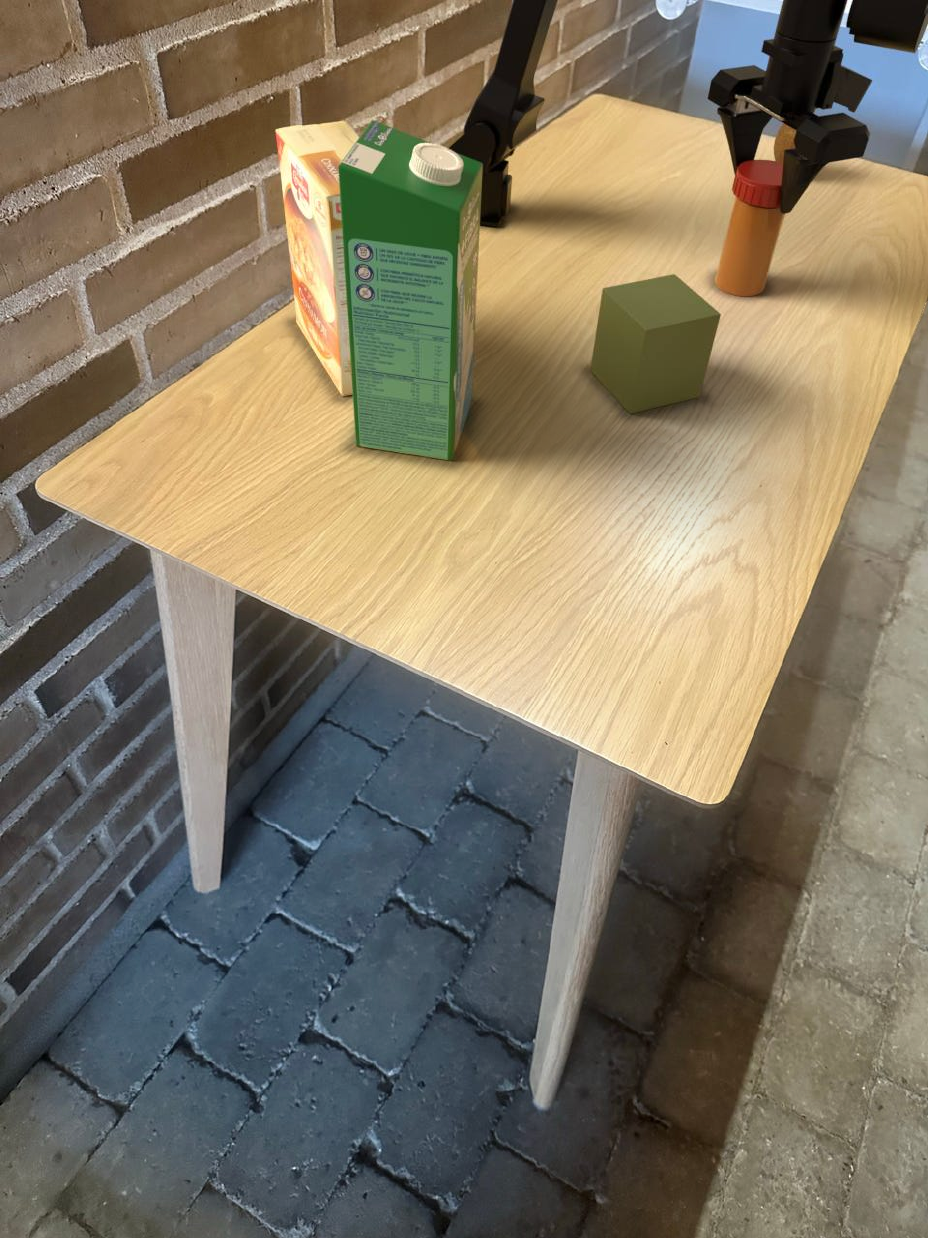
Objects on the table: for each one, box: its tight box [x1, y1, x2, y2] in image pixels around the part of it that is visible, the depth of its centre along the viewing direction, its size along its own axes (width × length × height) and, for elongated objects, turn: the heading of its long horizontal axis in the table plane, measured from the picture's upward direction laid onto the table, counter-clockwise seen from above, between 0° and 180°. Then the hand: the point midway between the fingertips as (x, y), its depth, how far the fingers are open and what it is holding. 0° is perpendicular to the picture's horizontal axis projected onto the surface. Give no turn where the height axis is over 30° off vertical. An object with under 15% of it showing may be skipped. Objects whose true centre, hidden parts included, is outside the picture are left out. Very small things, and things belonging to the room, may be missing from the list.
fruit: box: [773, 116, 796, 163], centre depth 127 cm, size 6×6×8 cm
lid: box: [731, 159, 783, 208], centre depth 100 cm, size 7×7×2 cm
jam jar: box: [714, 195, 786, 297], centre depth 104 cm, size 6×6×12 cm
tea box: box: [589, 273, 722, 415], centre depth 90 cm, size 8×8×9 cm
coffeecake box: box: [274, 120, 360, 397], centre depth 89 cm, size 15×7×20 cm, turn 24°
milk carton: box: [338, 119, 483, 462], centre depth 79 cm, size 9×9×25 cm
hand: (762, 197), depth 101 cm, fingers open, 7 cm apart
